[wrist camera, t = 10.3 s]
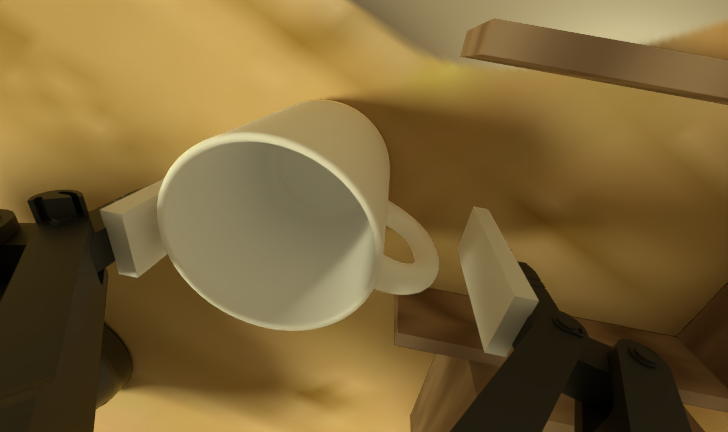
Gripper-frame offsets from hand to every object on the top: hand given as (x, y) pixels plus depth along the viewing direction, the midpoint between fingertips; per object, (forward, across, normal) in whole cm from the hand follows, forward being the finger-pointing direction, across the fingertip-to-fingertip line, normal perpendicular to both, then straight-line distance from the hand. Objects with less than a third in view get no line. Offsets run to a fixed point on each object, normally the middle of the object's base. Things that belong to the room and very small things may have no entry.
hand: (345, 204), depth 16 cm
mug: (+5, 0, 0) cm, 5 cm away
